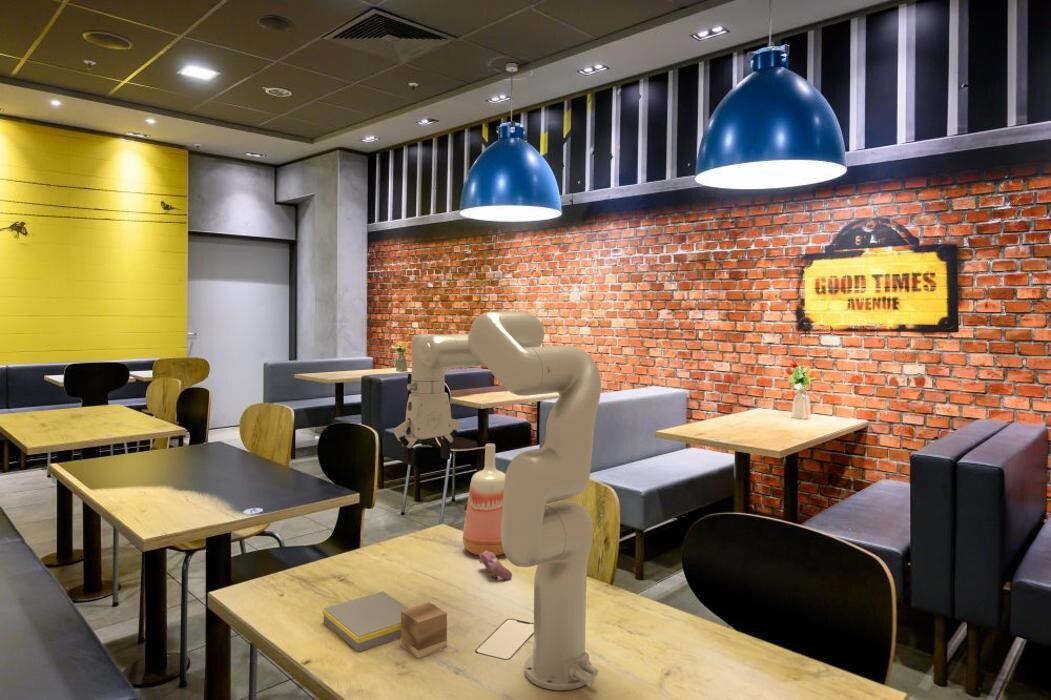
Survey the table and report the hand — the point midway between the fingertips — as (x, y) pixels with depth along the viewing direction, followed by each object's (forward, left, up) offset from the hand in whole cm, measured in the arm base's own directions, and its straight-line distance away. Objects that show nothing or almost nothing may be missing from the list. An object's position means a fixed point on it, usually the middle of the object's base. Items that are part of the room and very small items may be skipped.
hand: (427, 461), depth 157 cm
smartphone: (-29, -1, -32) cm, 43 cm away
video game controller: (-1, -19, -32) cm, 37 cm away
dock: (-7, +18, -31) cm, 37 cm away
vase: (+13, -28, -31) cm, 44 cm away
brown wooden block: (-21, +14, -31) cm, 40 cm away
